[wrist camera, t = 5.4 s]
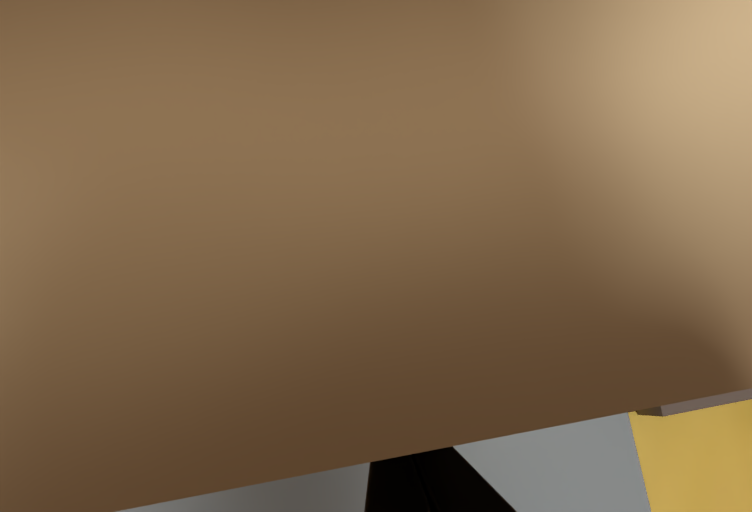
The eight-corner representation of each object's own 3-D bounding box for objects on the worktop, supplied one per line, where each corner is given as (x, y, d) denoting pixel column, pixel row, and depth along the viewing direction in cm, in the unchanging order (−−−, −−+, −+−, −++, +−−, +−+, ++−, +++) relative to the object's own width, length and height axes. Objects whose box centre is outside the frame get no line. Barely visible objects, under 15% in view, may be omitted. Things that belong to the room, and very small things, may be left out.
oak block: (566, 372, 17) (953, 348, 7) (103, 454, 15) (-260, 585, 5) (493, 41, 18) (718, -339, 9) (73, 72, 16) (-232, -377, 7)
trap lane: (903, 452, 18) (1021, 465, 15) (-389, 744, 13) (-593, 851, 10) (684, -240, 23) (742, -332, 20) (-326, -248, 17) (-451, -377, 14)
